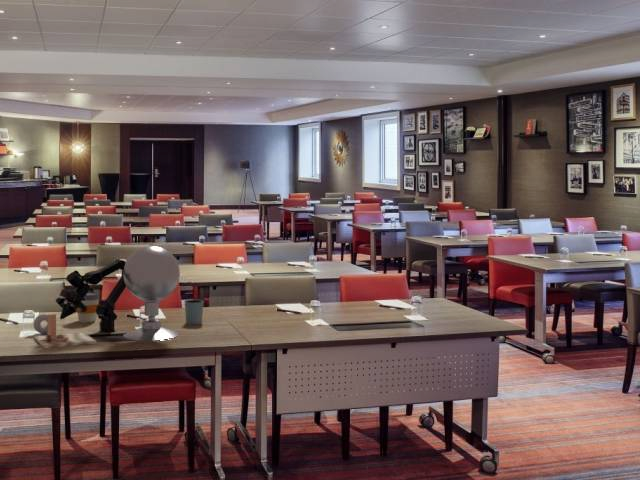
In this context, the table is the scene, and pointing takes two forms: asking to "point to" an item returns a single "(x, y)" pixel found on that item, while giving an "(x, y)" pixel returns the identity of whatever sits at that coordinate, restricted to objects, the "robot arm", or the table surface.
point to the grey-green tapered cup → (194, 311)
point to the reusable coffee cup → (89, 308)
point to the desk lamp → (151, 288)
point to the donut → (38, 323)
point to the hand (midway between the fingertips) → (60, 318)
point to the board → (73, 340)
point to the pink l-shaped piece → (53, 328)
